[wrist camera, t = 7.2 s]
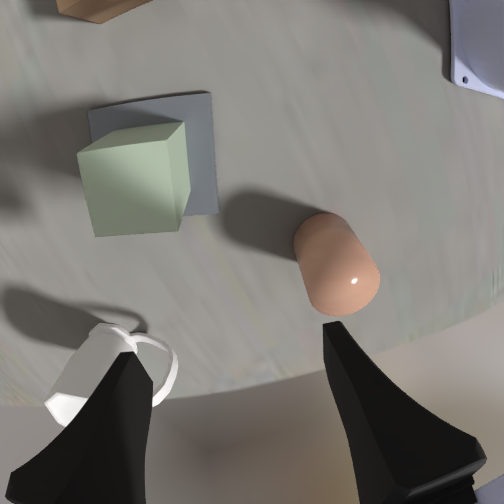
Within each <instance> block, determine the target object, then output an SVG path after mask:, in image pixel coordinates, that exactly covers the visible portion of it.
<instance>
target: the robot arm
mask: <svg viewBox="0 0 504 504" xmlns="http://www.w3.org/2000/svg"><path fill="white" fill-rule="evenodd" d="M449 3H450V19H451V80H452V82H453V84H455V85H457V86H461V87H465V88H469V89H472V90H476V91H479V92H483V93H486V94H489V95H493V96H496V97H499V98H502V99H504V0H449ZM463 77H464V79H465V81H464V83H463V80H462V79H463ZM323 355H324V363H325V368H326V372H327V377H328V381H329V385H330V387H331V390H332V393H333V396H334V399H335V402H336V405H337V408H338V410H339V414H340V417H341V419H342V422H343V425H344V428H345V431H346V434H347V438H348V442H349V447H350V452H351V457H352V461H353V467H354V472H355V477H356V483H357V489H358V495H359V501H360V504H504V474H503V475H501V476H499V477H498V478H496V479H494V480H492V481H491V482H489V483H487V484H485V485H483V486H482V487H480V488H478V489H477V490H475V491H474V490H473V487H472V485H473V484H474V480H473V476H472V475H473V474H474V473H475V472H476V471H477V470H479V469H480V468H481V467H482V466H483V465H484V464H485V463H486V460H487V457H486V455H485V453H484V450H483V449H482V447H481V445H480V444H479V442H478V441H477V439H476V438H475V437H473V436H471V435H469V434H467V433H465V432H463V431H461V430H459V429H457V428H455V427H454V426H452V425H450V424H449V423H447V422H445V421H443V420H442V419H440V418H439V417H437V416H436V415H434V414H432V413H431V412H430V411H428V410H427V409H425V408H424V407H422V406H421V405H420V404H418V403H417V402H416V401H415V400H413V399H412V398H411V397H409V396H408V395H407V394H406V393H405V392H403V391H402V390H401V389H400V388H399V387H398V386H396V385H395V384H394V383H393V382H392V381H391V380H390V379H389V378H388V377H387V376H386V375H385V374H384V373H383V372H382V371H381V370H380V369H379V368H378V367H377V366H376V365H375V364H374V363H373V361H372V360H371V359H370V358H369V357H368V356H367V355H366V353H365V352H364V351H363V350H362V349H361V348H360V346H359V345H358V344H357V343H356V341H355V340H354V339H353V337H352V336H351V335H350V333H349V332H348V331H347V329H346V328H345V327H344V325H343V324H342V322H340V321H335V322H330V323H325V324H323ZM152 402H153V381H152V380H151V378H150V377H149V375H148V374H147V372H146V370H145V369H144V367H143V366H142V364H141V362H140V361H139V359H138V358H137V356H136V354H135V353H134V351H130V352H120V353H119V355H118V356H117V358H116V359H115V361H114V362H113V363H112V365H111V366H110V368H109V369H108V371H107V372H106V374H105V375H104V377H103V378H102V380H101V381H100V383H99V384H98V386H97V387H96V389H95V390H94V392H93V393H92V395H91V396H90V397H89V399H88V400H87V401H86V403H85V404H84V405H83V407H82V408H81V409H80V411H79V412H78V413H77V415H76V416H75V417H74V418H73V420H72V421H71V422H70V423H69V424H68V425H67V426H66V428H65V429H64V430H63V431H62V432H61V433H60V434H59V435H58V436H57V437H56V438H55V439H54V440H53V441H52V442H51V443H50V444H49V445H48V446H47V447H45V449H43V450H42V451H41V452H40V453H39V454H38V455H36V456H35V457H33V458H32V459H31V460H29V461H28V462H27V463H25V464H24V465H22V466H21V467H19V468H18V469H16V470H15V471H13V472H11V475H10V479H9V483H8V487H7V491H6V495H5V497H6V499H7V500H9V501H10V502H12V503H14V504H146V499H145V476H144V475H145V474H144V473H145V451H146V444H147V436H148V430H149V424H150V418H151V411H152Z"/></svg>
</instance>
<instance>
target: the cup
mask: <svg viewBox="0 0 504 504" xmlns="http://www.w3.org/2000/svg"><path fill="white" fill-rule="evenodd" d="M88 335H89V338H87V339H86V340H85V341H84V342H83V344H82V345H81V346H80V347H79V348H78V350H77V351H76V352H75V353H74V354H73V356H72V357H71V358H70V360H69V362H68V363H67V365H66V366H65V368H64V370H63V371H62V373H61V375H60V377H59V378H58V380H57V381H56V383H55V385H54V386H53V388H52V390H51V391H50V393H49V395H48V396H47V398H46V400H45V402H44V404H45V405H46V407H47V408H48V410H49V411H50V412H51V414H52V415H53V417H54V418H55V420H56V421H57V422H58V423H60V424H61V425H63V426H65V427H66V426H67V425H68V424H69V423H70V422H71V421H72V420H73V418H74V417H75V416H76V415H77V413H78V412H79V411H80V409H81V408H82V407H83V405H84V404H85V403H86V401H87V400H88V399H89V397H90V396H91V395H92V393H93V392H94V390H95V389H96V387H97V386H98V384H99V383H100V381H101V380H102V378H103V377H104V375H105V374H106V372H107V371H108V369H109V368H110V366H111V365H112V363H113V362H114V361H115V359H116V358H117V356H118V355H119V353H120V352H130V351H134V353H135V354H136V353H137V351H138V350H137V345H136V342H140V341H142V342H147V343H151V344H153V345H156V346H158V347H160V348H162V349H164V350H166V351H167V352H168V353H169V357H170V361H169V365H168V369H167V372H166V374H165V376H164V379H163V381H162V383H161V384H160V385H159V386H158V388H157V389H156V390H155V391H154V392H153V402H152V407H154V406H156V405H157V404H159V403H160V402H161V401H162V400H163V399H164V398H165V397H166V395H167V394H168V393H169V392H170V390H171V388H172V385H173V383H174V380H175V378H176V374H177V370H178V360H177V356H176V354H175V352H174V351H173V350H172V348H171V347H170V346H169V345H168V344H167V343H166V342H165V341H163V340H160V339H158V338H156V337H154V336H151V335H149V334H145V333H139V332H137V333H132V334H130V333H129V332H128V331H126V330H125V329H124V328H122V327H121V326H119V325H117V324H107V323H98V324H97V325H96V326H95V327H94V328H93V329H92V330H91V331H90V332H89V334H88Z"/></svg>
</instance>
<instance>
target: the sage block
mask: <svg viewBox="0 0 504 504" xmlns="http://www.w3.org/2000/svg"><path fill="white" fill-rule="evenodd" d="M77 159H78V164H79V169H80V174H81V179H82V184H83V189H84V193H85V198H86V202H87V206H88V210H89V215H90V219H91V223H92V226H93V230H94V234H95V237H103V236H116V235H130V234H144V233H158V232H173V231H178V230H179V227H180V223H181V220H182V217H183V214H184V210H185V207H186V204H187V201H188V197H189V194H190V191H191V189H190V179H189V169H188V159H187V148H186V136H185V124H184V122H174V123H165V124H156V125H148V126H141V127H134V128H127V129H120V130H114V131H113V132H111V133H109V134H107V135H106V136H104V137H102V138H101V139H99V140H97V141H95V142H94V143H92V144H91V145H89V146H87V147H86V148H84V149H82V150H81V151H79V152H78V153H77Z"/></svg>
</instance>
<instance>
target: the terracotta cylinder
mask: <svg viewBox="0 0 504 504" xmlns="http://www.w3.org/2000/svg"><path fill="white" fill-rule="evenodd" d="M293 249H294V252H295V255H296V258H297V261H298V265H299V268H300V271H301V274H302V277H303V280H304V284H305V287H306V290H307V293H308V296H309V300H310V302H311V304H312V306H313V307H314V308H315V309H316V310H317V311H319V312H320V313H322V314H325V315H329V316H343V315H348V314H351V313H354V312H356V311H358V310H360V309H361V308H363V307H364V306H365V305H367V304H368V303H369V302H370V301H371V300H372V298H373V297H374V296H375V294H376V292H377V290H378V288H379V284H380V274H379V270H378V268H377V267H376V265H375V263H374V262H373V260H372V259H371V257H370V256H369V254H368V253H367V251H366V249H365V248H364V246H363V245H362V243H361V242H360V240H359V239H358V237H357V236H356V234H355V233H354V231H353V230H352V229H351V227H350V226H349V224H348V223H347V222H346V220H344V219H343V218H342V217H340V216H338V215H336V214H332V213H321V214H317V215H314V216H312V217H310V218H308V219H306V220H305V221H304V222H303V223H302V224H301V225H300V226H299V227H298V229H297V230H296V232H295V235H294V238H293Z"/></svg>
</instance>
